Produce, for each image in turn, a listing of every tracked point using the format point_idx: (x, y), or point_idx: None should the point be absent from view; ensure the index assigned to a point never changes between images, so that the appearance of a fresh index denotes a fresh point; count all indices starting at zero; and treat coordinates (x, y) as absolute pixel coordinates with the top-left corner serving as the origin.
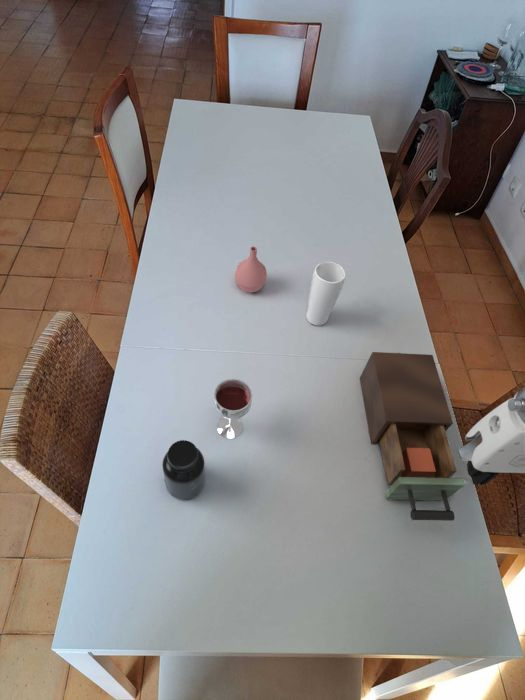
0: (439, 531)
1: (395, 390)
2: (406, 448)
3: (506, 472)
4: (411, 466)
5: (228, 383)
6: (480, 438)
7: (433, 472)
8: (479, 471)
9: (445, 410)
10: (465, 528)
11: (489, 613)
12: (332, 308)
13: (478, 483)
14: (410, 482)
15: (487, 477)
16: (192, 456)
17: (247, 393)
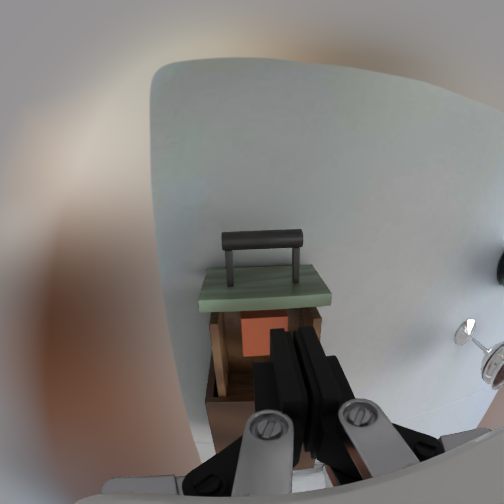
0: (225, 218)
1: None
2: None
3: (388, 481)
4: (286, 324)
5: (500, 381)
6: None
7: (244, 317)
8: (339, 389)
9: (215, 418)
10: (180, 226)
11: (173, 105)
12: (329, 483)
13: (306, 333)
14: (312, 297)
15: (299, 368)
16: None
17: (483, 377)
